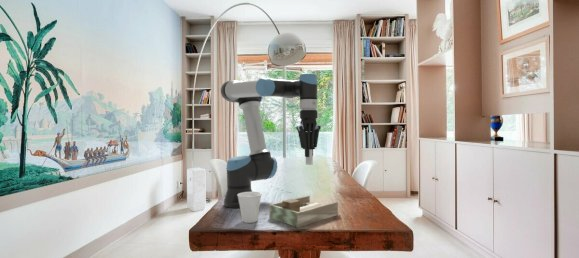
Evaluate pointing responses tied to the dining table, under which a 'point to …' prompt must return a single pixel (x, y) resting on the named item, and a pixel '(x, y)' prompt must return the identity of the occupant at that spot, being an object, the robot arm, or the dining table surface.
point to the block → (291, 204)
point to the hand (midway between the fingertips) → (309, 164)
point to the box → (303, 212)
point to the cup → (249, 206)
